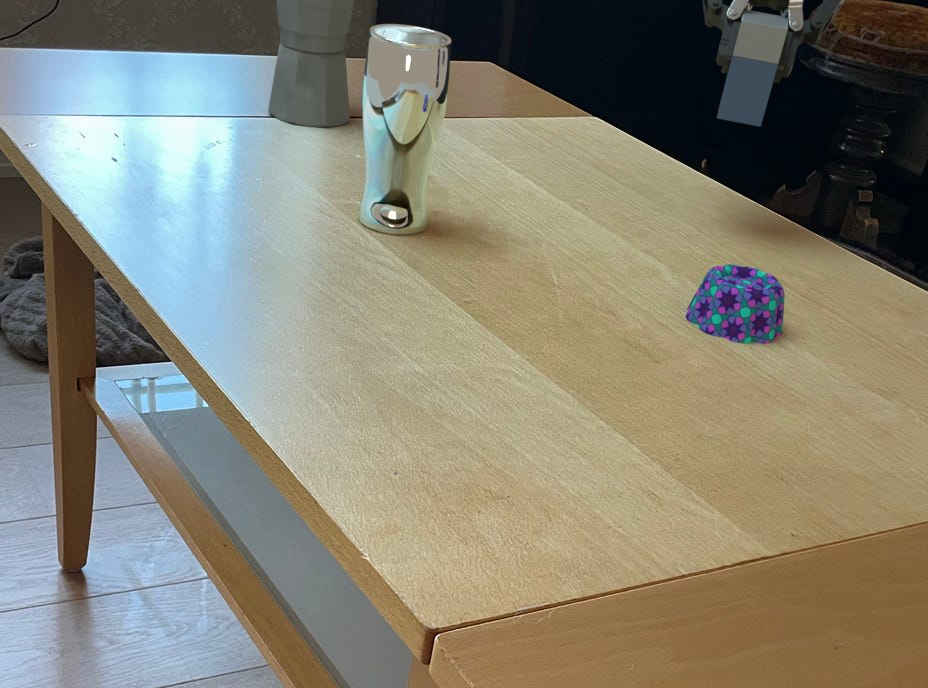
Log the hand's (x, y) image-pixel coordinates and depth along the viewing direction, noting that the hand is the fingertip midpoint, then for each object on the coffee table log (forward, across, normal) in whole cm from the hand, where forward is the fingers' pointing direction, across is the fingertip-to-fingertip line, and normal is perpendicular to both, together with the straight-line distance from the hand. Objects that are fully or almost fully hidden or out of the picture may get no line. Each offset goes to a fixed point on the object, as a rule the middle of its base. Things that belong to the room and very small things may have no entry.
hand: (751, 71), depth 103 cm
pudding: (+29, -3, +9) cm, 31 cm away
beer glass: (+22, +27, +2) cm, 35 cm away
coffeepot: (+2, +45, -18) cm, 48 cm away
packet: (+2, 0, -4) cm, 5 cm away
